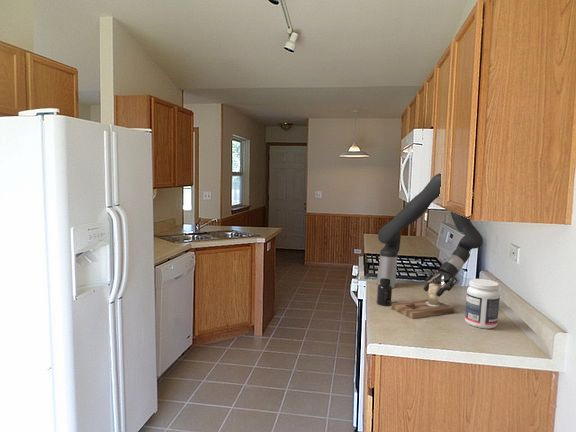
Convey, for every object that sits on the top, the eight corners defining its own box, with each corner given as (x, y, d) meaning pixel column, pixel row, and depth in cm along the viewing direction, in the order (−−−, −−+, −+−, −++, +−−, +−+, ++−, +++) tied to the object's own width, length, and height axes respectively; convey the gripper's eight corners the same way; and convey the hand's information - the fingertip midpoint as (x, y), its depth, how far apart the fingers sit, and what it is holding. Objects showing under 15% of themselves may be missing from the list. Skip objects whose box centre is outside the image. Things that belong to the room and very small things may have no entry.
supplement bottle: (373, 302, 207) (375, 278, 206) (385, 301, 210) (386, 277, 208) (382, 306, 201) (383, 281, 199) (394, 305, 204) (395, 280, 202)
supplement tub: (493, 321, 187) (497, 279, 185) (500, 331, 175) (504, 287, 173) (462, 317, 190) (465, 276, 188) (466, 327, 178) (470, 284, 176)
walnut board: (391, 308, 199) (391, 303, 198) (431, 303, 209) (431, 298, 208) (412, 318, 186) (412, 312, 186) (453, 312, 196) (453, 307, 196)
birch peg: (425, 302, 201) (427, 283, 200) (432, 301, 203) (434, 283, 201) (432, 305, 197) (434, 286, 196) (439, 304, 199) (441, 285, 198)
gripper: (436, 258, 207) (416, 283, 203) (460, 264, 194) (438, 292, 191) (444, 268, 210) (424, 293, 206) (467, 275, 197) (446, 302, 193)
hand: (431, 292), depth 198 cm, fingers open, 7 cm apart
